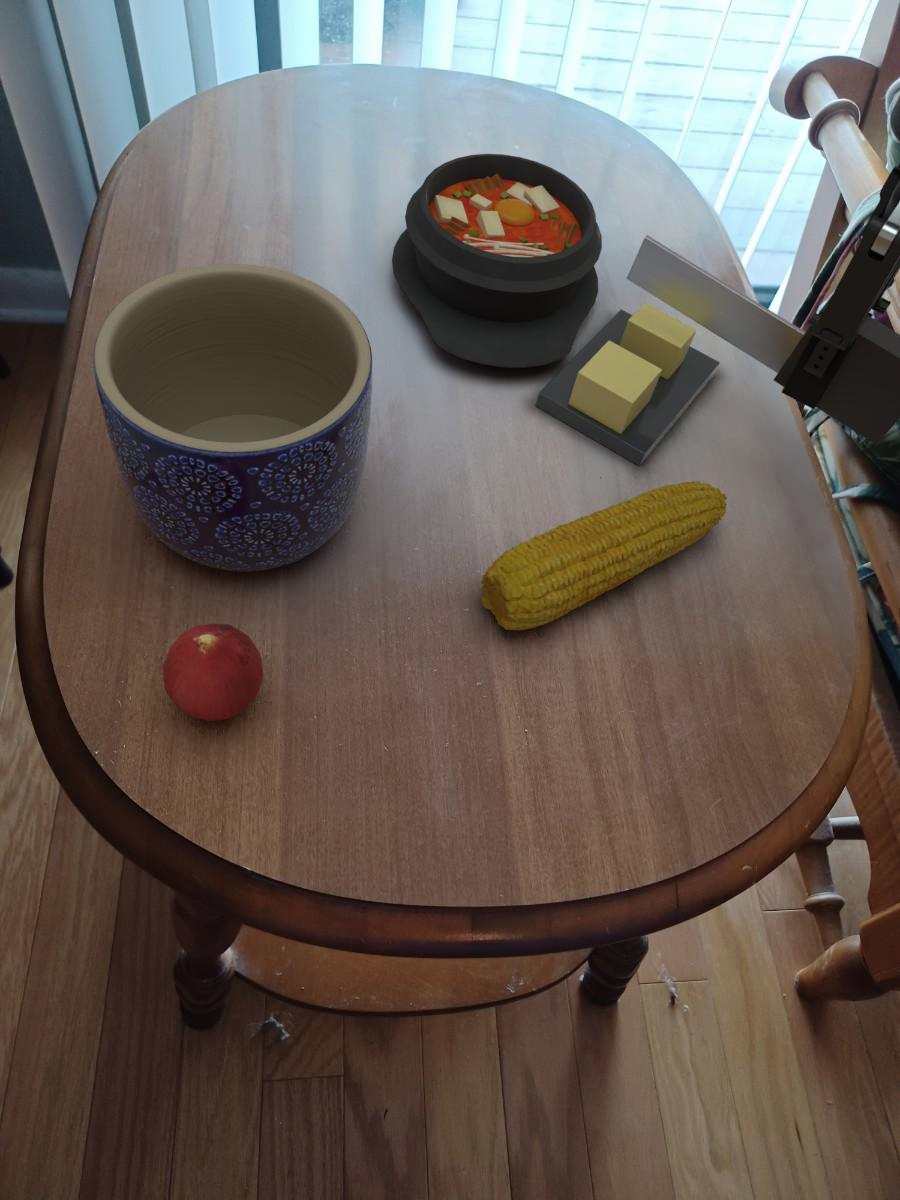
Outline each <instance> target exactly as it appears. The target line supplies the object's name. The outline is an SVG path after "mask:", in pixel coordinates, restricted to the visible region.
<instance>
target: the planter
mask: <svg viewBox="0 0 900 1200" xmlns="http://www.w3.org/2000/svg"><path fill="white" fill-rule="evenodd" d="M92 360H93V361H92V362H93V363H92V365H93V372H94V379H95V384H96V391H97V394H98V398H99V403H100V407H101V411H102V415H103V419H104V423H105V427H106V431H107V435H108V439H109V442H110V445H111V448H112V452H113V455H114V459H115V462H116V466H117V469H118V471H119V474H120V476H121V479H122V483H123V485H124V488H125V490H126V492H127V495H128V498H129V499H130V501H131V503H132V505H133V506H132V507H133V508H134V510H135V511H136V513H137V515H138V516H139V517H140V519H141V520H142V522H143V523H144V524H145V526H146V528H147V529H148V530H149V531H150V532H151V533H152V534H153V536H154V537H156V539H157V540H159V542H161V543H162V544H163V545H164V546H166V547H167V548H169V549H170V550H171V551H174V552H175V553H176V554H178V555H181V556H182V557H184V558H186V559H187V560H189V561H192V562H194V563H197V564H199V565H202V566H205V567H209V568H213V569H218V570H221V571H222V570H223V571H230V572H244V573H245V572H261V571H267V570H272V569H277V568H280V567H284V566H286V565H287V566H288V565H290V564H292V563H294V562H297V561H300V560H301V559H303V558H306V557H307V556H309V555H311V554H313V553H314V552H315V551H317V550H318V549H319V548H321V547H322V546H323V545H325V544H326V543H327V542H328V541H329V540H330V539H332V538H333V537H334V536H335V535H336V533H338V531H339V530H340V529H341V528H342V526H343V525H344V524H345V522H346V521H347V519H348V518H349V515H350V513H351V512H352V510H353V508H354V505H355V503H356V501H357V498H358V496H359V492H360V489H361V484H362V479H363V474H364V470H365V466H366V465H365V462H366V459H367V452H368V443H369V442H368V441H369V434H370V433H369V432H370V424H371V413H372V411H371V410H372V395H373V353H372V347H371V343H370V340H369V337H368V334H367V332H366V330H365V328H364V325H363V324H362V323H361V321H360V320H359V318H358V317H357V316H356V314H355V313H354V311H353V310H351V308H349V306H348V305H347V304H346V303H344V301H343V300H341V298H339V297H338V296H336V295H335V294H334V293H332V292H331V291H329V290H328V289H326V288H325V287H323V286H321V285H320V284H317V283H316V282H314V281H312V280H309V279H307V278H304V277H302V276H301V275H297V274H295V273H292V272H289V271H285V270H282V269H277V268H273V267H268V266H262V265H256V264H243V263H240V264H239V263H220V264H217V263H216V264H210V265H209V264H208V265H207V264H206V265H201V266H194V267H189V268H186V269H182V270H181V269H180V270H178V271H174V272H171V273H168V274H166V275H163V276H161V277H158V278H156V279H153V280H151V281H150V282H148V283H146V284H144V285H142V286H141V287H139V288H137V289H136V290H134V291H132V292H131V293H130V294H129V295H127V296H126V297H125V298H123V300H121V301H120V302H119V303H118V304H117V305H116V306H115V307H114V308H113V309H112V311H111V312H110V313H109V314H108V316H107V317H106V318H105V320H104V321H103V323H102V324H101V327H100V329H99V330H98V333H97V336H96V339H95V344H94V348H93V355H92Z"/></svg>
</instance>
